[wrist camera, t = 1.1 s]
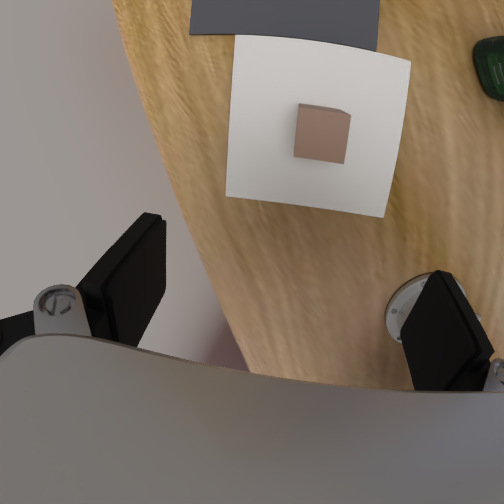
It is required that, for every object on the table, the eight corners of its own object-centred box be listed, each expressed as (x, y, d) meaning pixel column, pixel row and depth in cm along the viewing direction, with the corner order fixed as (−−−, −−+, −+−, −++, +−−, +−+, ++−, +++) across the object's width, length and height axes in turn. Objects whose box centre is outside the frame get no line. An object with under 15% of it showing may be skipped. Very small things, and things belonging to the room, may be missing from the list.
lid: (407, 61, 22) (438, 56, 16) (381, 214, 29) (399, 248, 23) (237, 36, 23) (218, 21, 17) (227, 192, 30) (209, 222, 24)
